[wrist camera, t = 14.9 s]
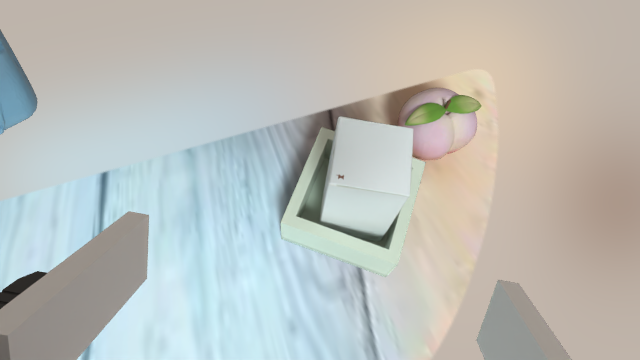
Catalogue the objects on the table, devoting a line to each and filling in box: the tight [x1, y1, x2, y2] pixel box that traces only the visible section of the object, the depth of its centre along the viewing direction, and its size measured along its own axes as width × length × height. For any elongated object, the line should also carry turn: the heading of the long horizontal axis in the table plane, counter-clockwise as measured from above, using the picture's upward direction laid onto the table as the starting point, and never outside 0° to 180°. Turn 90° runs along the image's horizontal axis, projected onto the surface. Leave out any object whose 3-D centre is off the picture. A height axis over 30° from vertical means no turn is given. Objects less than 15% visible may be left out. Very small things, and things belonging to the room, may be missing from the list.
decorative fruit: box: [398, 88, 481, 160], centre depth 49 cm, size 9×8×10 cm
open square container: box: [281, 127, 426, 277], centre depth 46 cm, size 12×12×6 cm
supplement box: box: [319, 116, 414, 241], centre depth 42 cm, size 7×7×13 cm
